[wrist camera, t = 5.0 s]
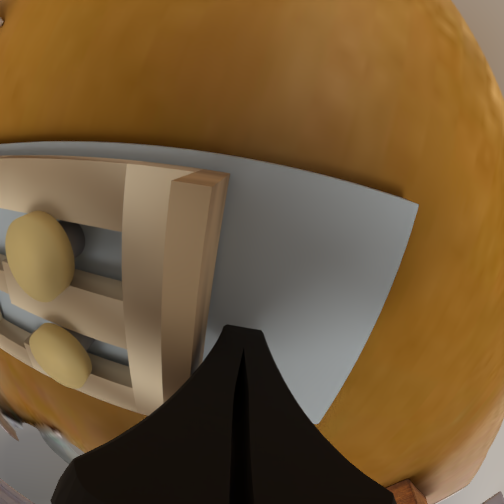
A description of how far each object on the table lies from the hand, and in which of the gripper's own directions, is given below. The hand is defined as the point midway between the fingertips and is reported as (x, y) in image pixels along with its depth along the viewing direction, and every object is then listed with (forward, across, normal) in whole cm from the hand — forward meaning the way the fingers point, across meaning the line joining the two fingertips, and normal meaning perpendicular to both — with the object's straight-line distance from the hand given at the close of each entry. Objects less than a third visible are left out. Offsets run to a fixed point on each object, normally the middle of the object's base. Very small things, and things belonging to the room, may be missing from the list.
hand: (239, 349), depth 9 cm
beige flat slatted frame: (+1, +8, 0) cm, 8 cm away
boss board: (+2, +6, 0) cm, 7 cm away
